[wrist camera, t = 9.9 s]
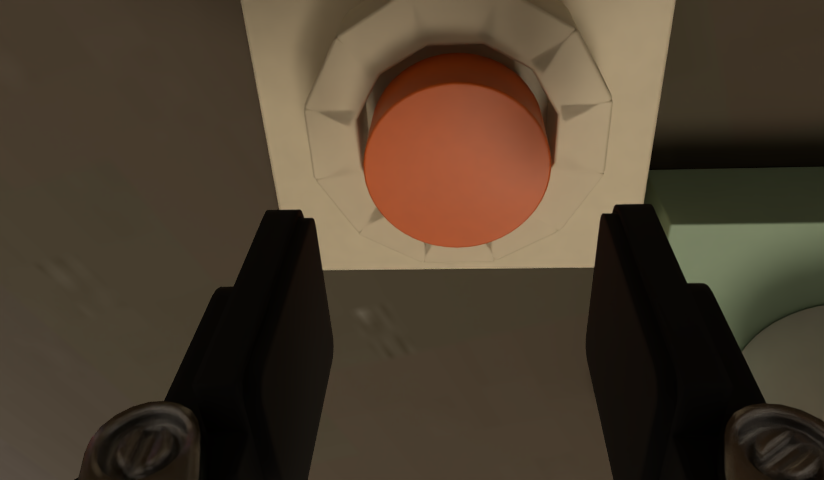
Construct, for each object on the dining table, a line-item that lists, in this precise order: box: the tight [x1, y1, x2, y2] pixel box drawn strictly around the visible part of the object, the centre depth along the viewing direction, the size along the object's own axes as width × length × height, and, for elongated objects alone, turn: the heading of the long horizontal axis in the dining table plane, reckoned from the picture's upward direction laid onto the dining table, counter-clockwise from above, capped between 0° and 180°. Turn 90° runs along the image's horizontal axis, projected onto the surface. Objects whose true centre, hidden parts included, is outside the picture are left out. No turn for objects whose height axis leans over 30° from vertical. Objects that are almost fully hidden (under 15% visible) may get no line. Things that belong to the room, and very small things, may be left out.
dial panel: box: [644, 167, 824, 352], centre depth 22 cm, size 10×10×3 cm
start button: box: [363, 53, 551, 248], centre depth 16 cm, size 4×4×2 cm
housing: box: [241, 0, 676, 270], centre depth 18 cm, size 10×10×4 cm
